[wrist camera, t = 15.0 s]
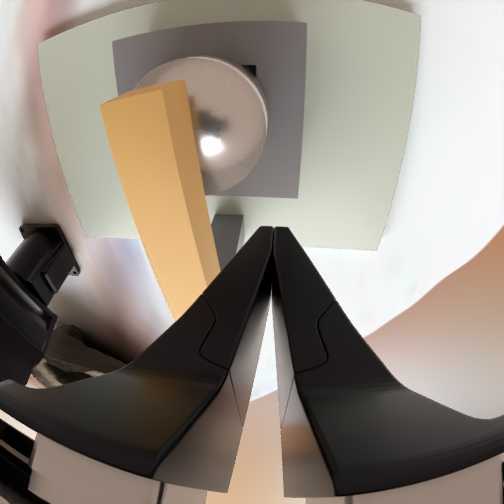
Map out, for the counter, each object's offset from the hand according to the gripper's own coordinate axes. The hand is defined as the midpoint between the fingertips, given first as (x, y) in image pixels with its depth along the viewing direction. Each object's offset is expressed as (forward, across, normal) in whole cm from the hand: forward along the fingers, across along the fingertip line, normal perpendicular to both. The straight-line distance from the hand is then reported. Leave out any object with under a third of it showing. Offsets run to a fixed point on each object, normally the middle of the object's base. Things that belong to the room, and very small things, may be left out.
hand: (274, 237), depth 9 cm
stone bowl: (+11, +27, +34) cm, 45 cm away
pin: (+9, +3, -2) cm, 10 cm away
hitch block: (+10, +4, 0) cm, 11 cm away
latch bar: (+2, +4, +2) cm, 4 cm away
